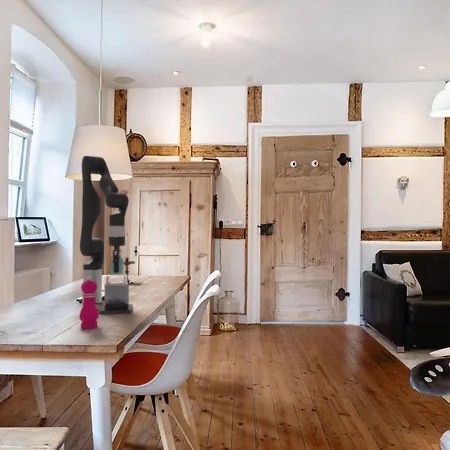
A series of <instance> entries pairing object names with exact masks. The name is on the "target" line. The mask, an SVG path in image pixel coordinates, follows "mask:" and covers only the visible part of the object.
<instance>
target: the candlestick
mask: <svg viewBox="0 0 450 450" xmlns="http://www.w3.org/2000/svg"><path fill="white" fill-rule="evenodd" d="M128 234H129V233H128V232H126V237H125V260H123V266H125V271H124V274H125V275H127V283H129V282H130V281H131V280H129V273H130V271H129V266H130V265H132V264H133V265H134V264H136V261H134V260H129V259H130V257H129V245H130V244H129V237H128V236H129V235H128Z"/></svg>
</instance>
